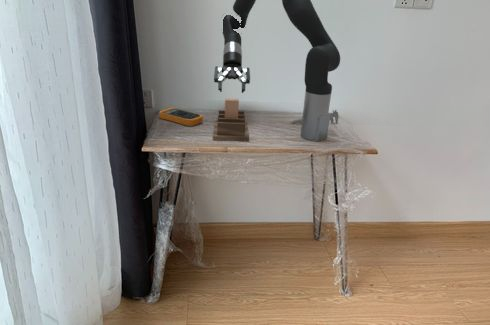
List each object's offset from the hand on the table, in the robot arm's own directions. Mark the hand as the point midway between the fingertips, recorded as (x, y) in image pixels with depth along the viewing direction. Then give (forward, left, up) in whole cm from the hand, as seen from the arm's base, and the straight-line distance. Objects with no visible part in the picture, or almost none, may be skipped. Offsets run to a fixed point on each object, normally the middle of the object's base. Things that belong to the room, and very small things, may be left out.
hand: (231, 91), depth 141 cm
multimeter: (+15, +14, -14) cm, 25 cm away
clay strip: (-7, +6, -12) cm, 15 cm away
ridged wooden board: (-7, +6, -13) cm, 16 cm away
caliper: (-19, -30, -14) cm, 38 cm away
